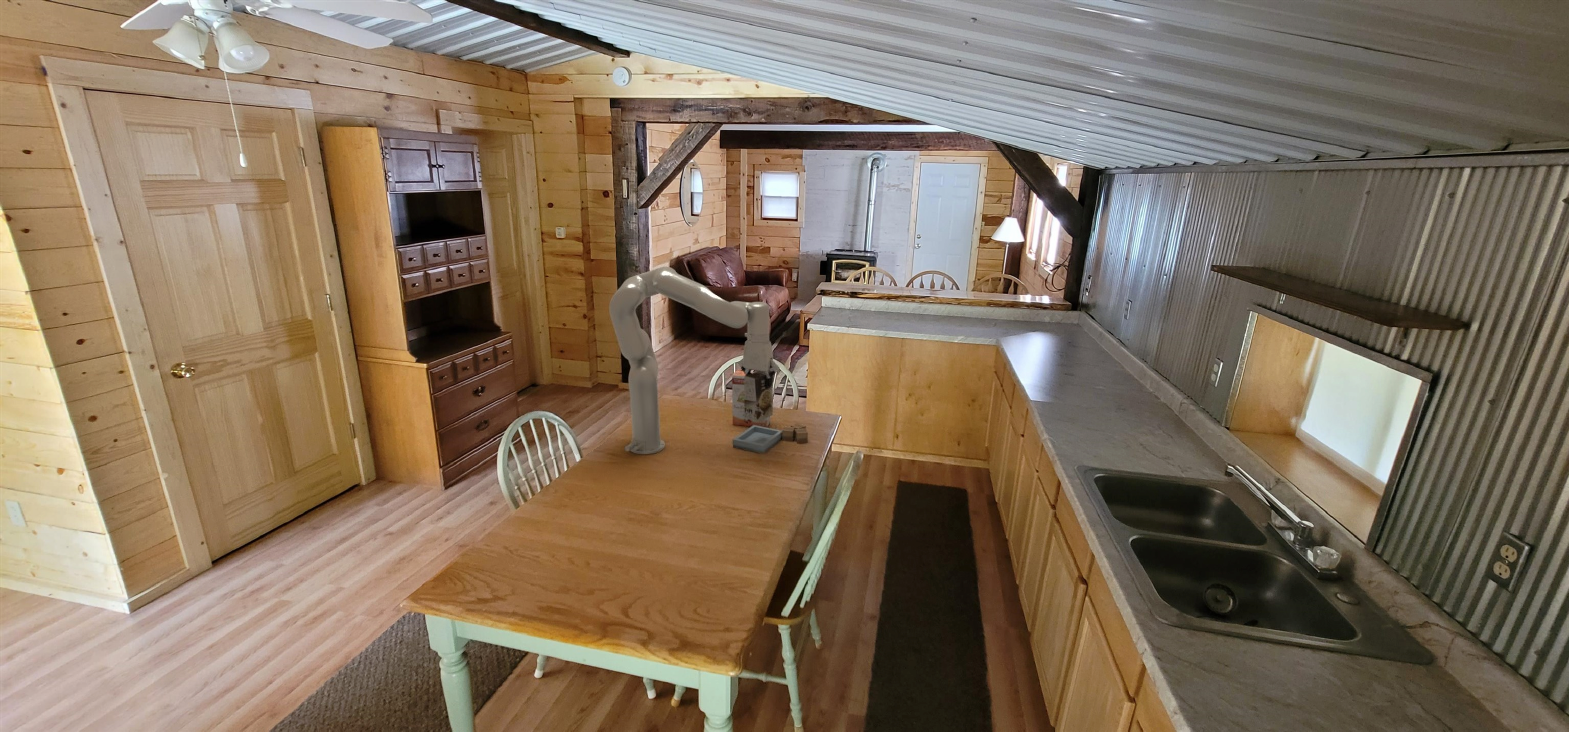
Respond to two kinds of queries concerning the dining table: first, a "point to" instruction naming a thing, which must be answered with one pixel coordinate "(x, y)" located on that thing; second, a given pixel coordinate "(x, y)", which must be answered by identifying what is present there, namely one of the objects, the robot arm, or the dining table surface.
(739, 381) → the cracker box
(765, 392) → the coffee box
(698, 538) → the dining table surface
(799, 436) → the walnut block
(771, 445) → the tray
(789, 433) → the walnut block
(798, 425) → the walnut block
